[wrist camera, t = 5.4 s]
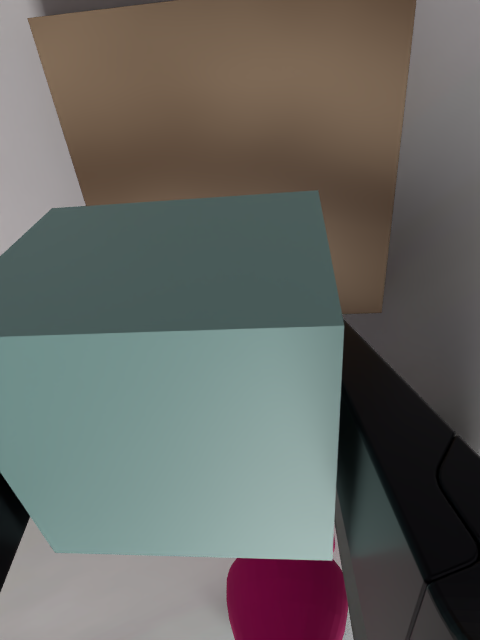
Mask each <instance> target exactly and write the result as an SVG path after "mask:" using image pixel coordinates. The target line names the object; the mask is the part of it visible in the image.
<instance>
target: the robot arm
mask: <svg viewBox="0 0 480 640" xmlns="http://www.w3.org/2000/svg"><path fill="white" fill-rule="evenodd" d="M343 322H344V341H343V360H342V380H341V400H340V419H339V439H338V459H337V478H336V488H337V493H338V498H339V503H340V508H341V513H342V517H343V522H344V527H345V532H346V537H347V542H348V547H349V551H350V556H351V561H352V566H353V571H354V576H355V580H356V585H357V590H358V595H359V600H360V605H361V610H362V614H363V619H364V624H365V629H366V634H367V639H368V640H480V456H479V455H478V454H477V453H476V452H475V451H474V450H473V449H472V448H471V447H470V446H469V445H468V444H467V443H466V442H465V441H464V440H463V439H462V438H461V437H460V436H455V435H456V433H455V431H454V430H453V429H452V428H451V427H450V426H449V425H448V424H447V423H446V422H445V421H444V420H443V419H442V418H441V417H440V416H439V415H438V414H437V413H436V412H435V411H434V410H433V409H432V408H431V407H430V406H429V405H428V404H427V403H426V402H425V401H424V400H423V399H422V398H421V397H420V396H419V395H418V394H417V393H416V392H415V391H414V390H413V389H412V388H411V387H410V386H409V385H408V384H407V383H406V382H405V381H404V380H403V379H402V378H401V377H400V376H399V375H398V374H397V373H396V372H395V371H394V370H393V369H392V368H391V367H390V366H389V365H388V364H387V363H386V362H385V361H384V360H383V359H382V358H381V357H380V356H379V355H378V354H377V353H376V352H375V351H374V350H373V349H372V348H371V347H370V346H369V345H368V343H367V342H366V341H365V340H364V339H363V338H362V337H361V336H360V335H359V334H358V333H357V332H356V331H355V330H354V329H353V328H352V327H351V326H350V325H349V324H348V323H347V322H346V321H345V320H344V319H343ZM29 518H30V515H29V514H28V512H27V511H26V509H25V508H24V506H23V505H22V503H21V502H20V500H19V499H18V497H17V496H16V494H15V493H14V491H13V490H12V489H11V487H10V486H9V484H8V483H7V481H6V480H5V478H4V477H3V475H2V474H1V472H0V592H1V589H2V587H3V584H4V582H5V579H6V577H7V574H8V571H9V569H10V566H11V564H12V561H13V559H14V556H15V554H16V551H17V549H18V546H19V543H20V541H21V538H22V536H23V533H24V531H25V528H26V526H27V523H28V521H29Z"/></svg>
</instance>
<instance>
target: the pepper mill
mask: <svg viewBox="0 0 480 640" xmlns="http://www.w3.org/2000/svg"><path fill="white" fill-rule="evenodd" d="M334 549H335V539H334V537H333V551H334ZM227 607H228V614H229V620H230V624H231V628H232V631H233V634H234V638H235V640H342V638H343V635H344V632H345V626H346V619H347V612H348V601H347V595H346V589H345V583H344V577H343V572H342V570H341V569H340V567H339V566H338V565H337V563H336V562H335V561H334V560H333V559H332V561H328V560H293V559H258V558H237V559H236V560H235V561H234V563H233V564H232V566H231V568H230V570H229V573H228V577H227Z"/></svg>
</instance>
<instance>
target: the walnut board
mask: <svg viewBox="0 0 480 640" xmlns="http://www.w3.org/2000/svg"><path fill="white" fill-rule="evenodd" d="M415 8H416V0H175V1H166V2H158V3H150V4H142V5H133V6H125V7H117V8H108V9H100V10H92V11H84V12H75V13H67V14H59V15H51V16H42V17H34V18H28V22H29V25H30V28H31V31H32V34H33V38H34V41H35V44H36V47H37V50H38V54H39V57H40V60H41V63H42V66H43V70H44V73H45V76H46V79H47V82H48V86H49V89H50V92H51V95H52V98H53V102H54V105H55V108H56V111H57V114H58V117H59V121H60V124H61V127H62V130H63V133H64V137H65V140H66V143H67V146H68V149H69V153H70V156H71V159H72V162H73V165H74V169H75V172H76V175H77V178H78V181H79V185H80V188H81V191H82V194H83V197H84V201H85V204H86V206H95V205H109V204H124V203H139V202H153V201H168V200H183V199H197V198H212V197H227V196H242V195H256V194H271V193H286V192H300V191H315V190H318V192H319V197H320V202H321V208H322V213H323V218H324V223H325V228H326V234H327V239H328V244H329V249H330V254H331V259H332V265H333V270H334V275H335V280H336V285H337V291H338V296H339V301H340V306H341V311H342V314H359V313H381V312H382V303H383V294H384V285H385V277H386V268H387V259H388V250H389V241H390V232H391V223H392V214H393V205H394V196H395V187H396V178H397V169H398V160H399V151H400V142H401V133H402V124H403V115H404V106H405V97H406V88H407V80H408V71H409V62H410V53H411V44H412V35H413V26H414V17H415Z"/></svg>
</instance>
